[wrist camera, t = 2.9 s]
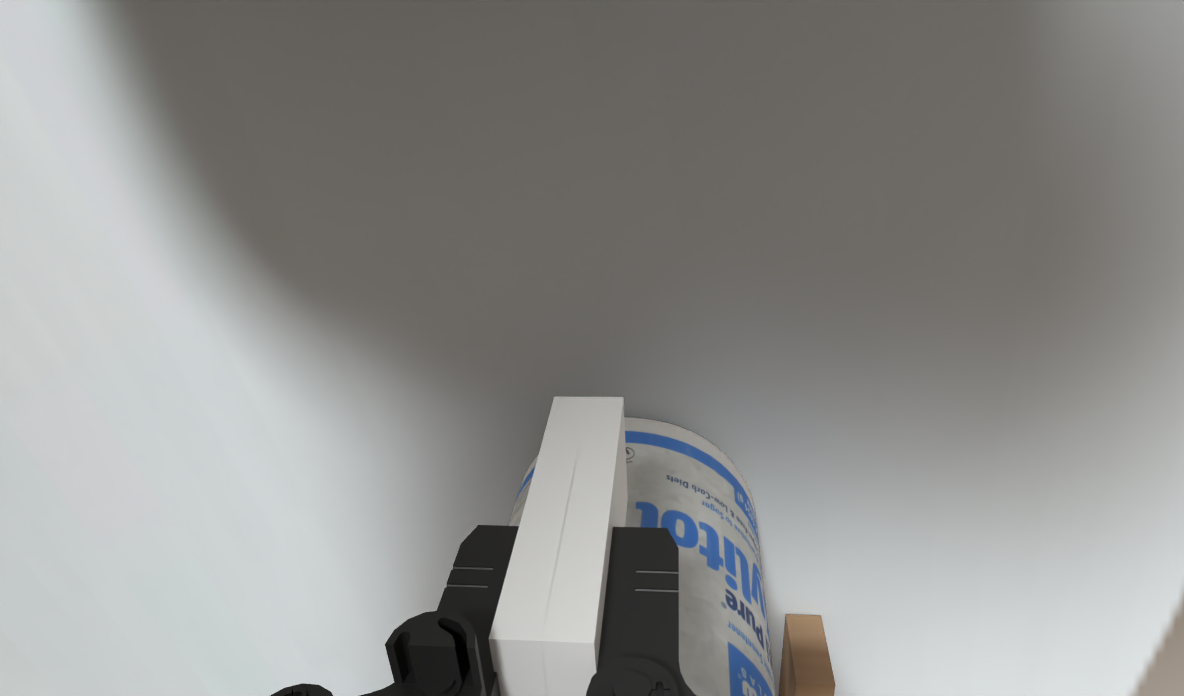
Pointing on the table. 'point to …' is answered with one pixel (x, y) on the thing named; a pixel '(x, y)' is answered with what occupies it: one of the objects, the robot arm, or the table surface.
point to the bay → (805, 658)
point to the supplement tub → (700, 553)
